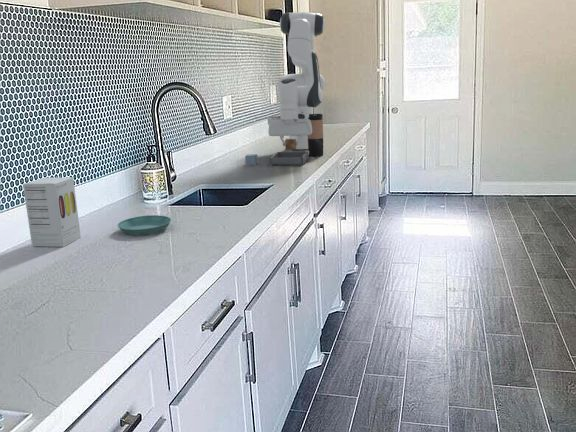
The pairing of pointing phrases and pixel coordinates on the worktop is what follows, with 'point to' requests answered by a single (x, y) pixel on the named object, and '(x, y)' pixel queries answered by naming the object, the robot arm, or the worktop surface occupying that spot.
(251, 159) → the slate block
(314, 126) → the travel mug
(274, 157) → the charcoal tray
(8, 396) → the worktop surface
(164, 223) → the saucer
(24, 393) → the worktop surface
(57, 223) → the supplement box
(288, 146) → the walnut block
